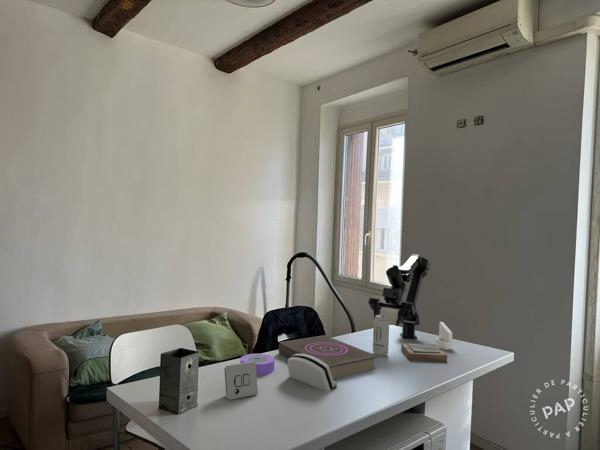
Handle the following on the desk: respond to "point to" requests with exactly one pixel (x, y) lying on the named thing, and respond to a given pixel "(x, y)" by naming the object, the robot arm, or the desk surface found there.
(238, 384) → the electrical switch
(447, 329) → the white angled block
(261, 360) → the masking tape
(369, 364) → the book
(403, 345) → the brown square frame
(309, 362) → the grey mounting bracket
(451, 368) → the desk surface
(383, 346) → the energy drink can
